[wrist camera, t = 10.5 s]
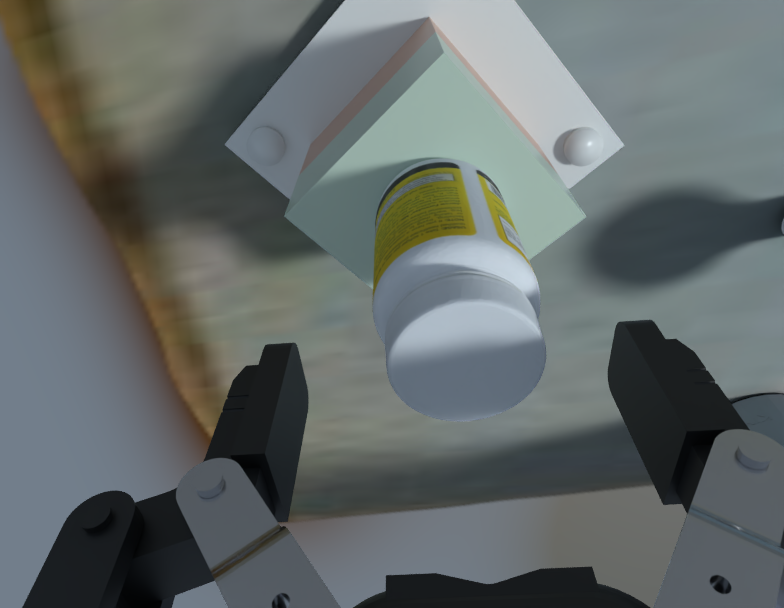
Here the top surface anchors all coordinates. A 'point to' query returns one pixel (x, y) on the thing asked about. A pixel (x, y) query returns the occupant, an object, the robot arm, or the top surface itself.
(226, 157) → the top surface
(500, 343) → the supplement bottle
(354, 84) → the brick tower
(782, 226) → the lightbulb
